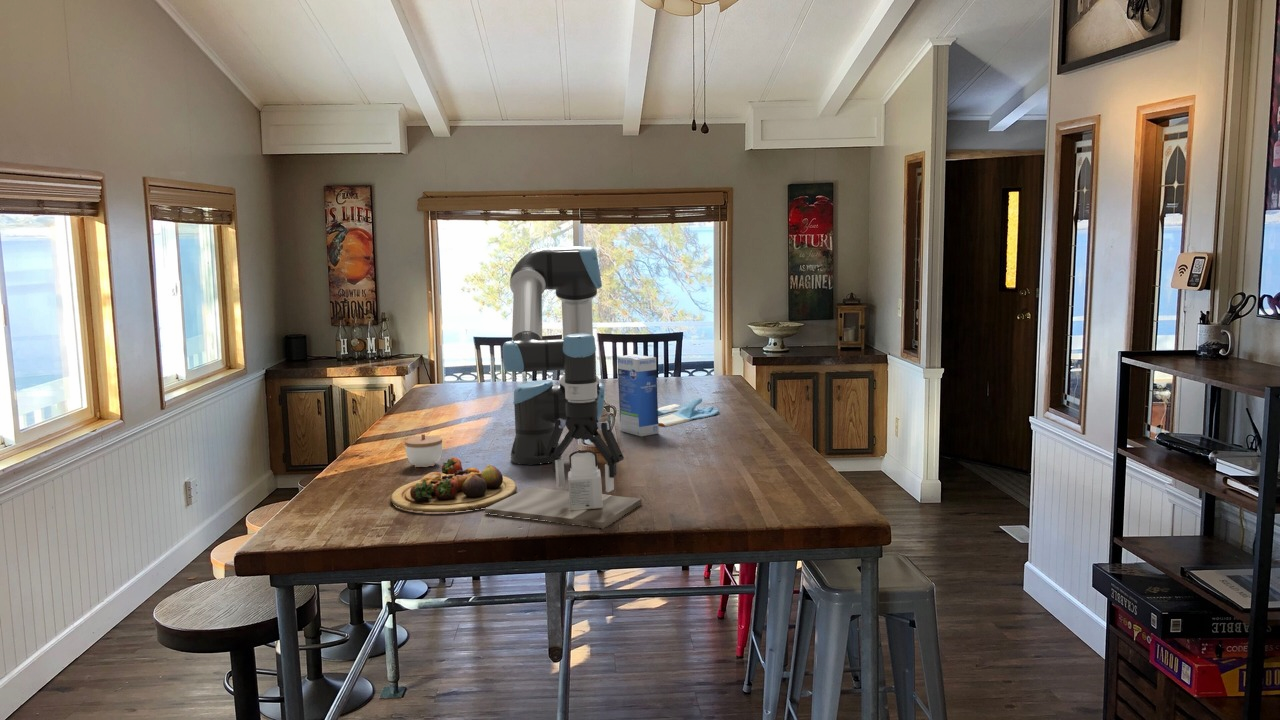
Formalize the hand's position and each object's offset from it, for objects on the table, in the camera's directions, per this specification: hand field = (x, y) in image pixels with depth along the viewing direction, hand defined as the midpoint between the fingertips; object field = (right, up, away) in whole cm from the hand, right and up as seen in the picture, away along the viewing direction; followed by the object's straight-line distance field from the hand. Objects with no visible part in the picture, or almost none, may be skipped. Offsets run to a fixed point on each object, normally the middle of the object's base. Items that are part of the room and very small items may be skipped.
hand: (584, 488), depth 216 cm
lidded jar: (-50, -1, +52) cm, 73 cm away
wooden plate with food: (-35, -5, +18) cm, 40 cm away
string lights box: (+13, +6, +89) cm, 90 cm away
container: (0, -4, 0) cm, 4 cm away
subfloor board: (-5, -6, +3) cm, 8 cm away
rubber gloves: (+24, +9, +118) cm, 121 cm away
